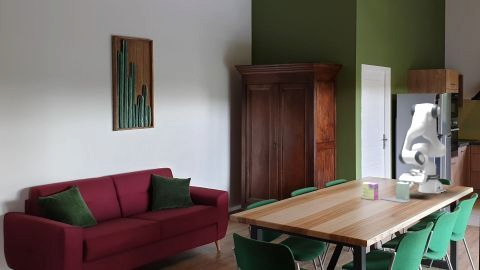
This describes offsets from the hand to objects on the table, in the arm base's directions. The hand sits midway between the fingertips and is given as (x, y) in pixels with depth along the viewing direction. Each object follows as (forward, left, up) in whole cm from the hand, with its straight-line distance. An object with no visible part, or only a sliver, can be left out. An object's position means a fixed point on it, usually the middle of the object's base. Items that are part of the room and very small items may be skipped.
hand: (408, 187), depth 386 cm
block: (+5, -2, -9) cm, 10 cm away
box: (+22, -18, -9) cm, 29 cm away
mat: (+13, -2, -8) cm, 16 cm away
